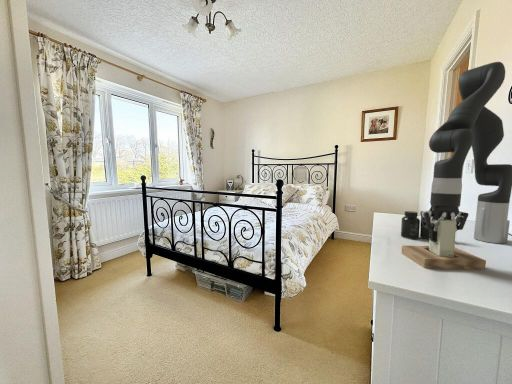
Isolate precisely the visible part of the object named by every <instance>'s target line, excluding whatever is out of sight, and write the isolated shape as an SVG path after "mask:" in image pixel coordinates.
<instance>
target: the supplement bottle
mask: <svg viewBox="0 0 512 384" xmlns="http://www.w3.org/2000/svg"><path fill="white" fill-rule="evenodd" d="M418 213H419V212H418V211H414V210H413V211H412V210H406V211H405V210H404V216H403V217H402V218H401V227H400V237H402V238H403V239H409V240H418V239H419V238H420V224H421V219H420V218H418V216H419V215H418Z"/></svg>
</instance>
